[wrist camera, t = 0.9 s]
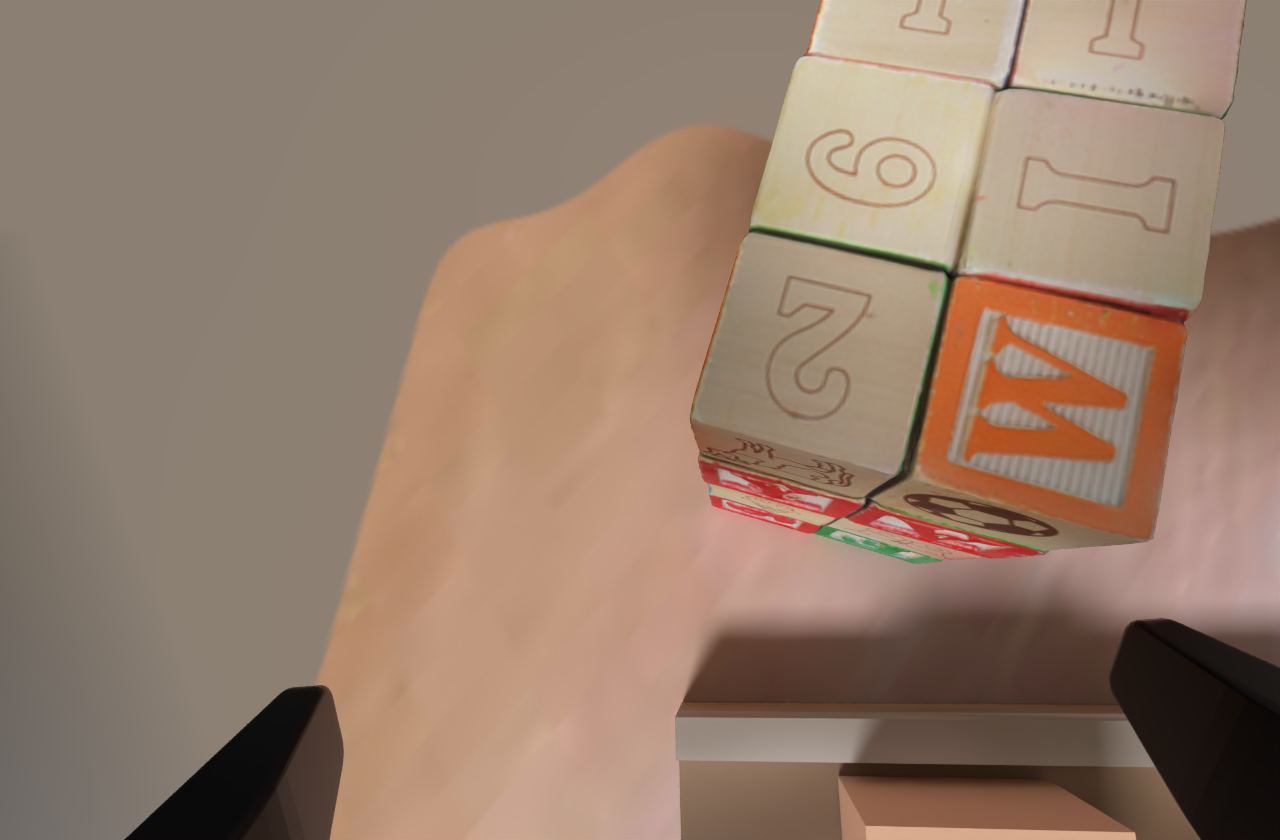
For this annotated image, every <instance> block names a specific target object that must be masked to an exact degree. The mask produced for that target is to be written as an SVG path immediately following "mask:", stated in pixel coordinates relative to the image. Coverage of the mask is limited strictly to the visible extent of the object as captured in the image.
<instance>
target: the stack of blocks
mask: <svg viewBox="0 0 1280 840" xmlns="http://www.w3.org/2000/svg"><path fill="white" fill-rule="evenodd" d="M1245 7H1246V0H821V2H820V6H819V9H818V13H817V17H816V20H815V24H814V28H813V31H812V35H811V39H810V44H809V48H808V50H807V53H806V54H805V55H804V56H802V57H801V58H800V59H798V61H797V62H796V64H795V66H794V68H793V72H792V76H791V79H790V82H789V86H788V89H787V93H786V96H785V99H784V103H783V107H782V110H781V114H780V117H779V121H778V125H777V128H776V132H775V136H774V140H773V143H772V147H771V150H770V153H769V157H768V160H767V163H766V166H765V170H764V173H763V176H762V180H761V183H760V186H759V190H758V193H757V196H756V200H755V203H754V206H753V210H752V213H751V221H750V229H749V233H748V234H747V235H745V237H744V238H743V240H742V241H741V243H740V245H739V249H738V252H737V256H736V259H735V263H734V266H733V269H732V273H731V276H730V279H729V283H728V286H727V289H726V292H725V296H724V299H723V302H722V306H721V309H720V312H719V315H718V319H717V322H716V325H715V329H714V332H713V335H712V338H711V342H710V345H709V348H708V351H707V355H706V358H705V361H704V365H703V368H702V372H701V375H700V378H699V382H698V385H697V389H696V392H695V395H694V399H693V404H692V409H691V414H690V423H691V428H692V430H693V433H694V435H695V440H696V442H697V445H698V448H699V450H700V452H699V457H698V462H699V468H700V471H701V474H702V478H703V479H704V481H705V482H707V484H708V486H709V496H710V499H711V503H712V505H713V506H715V507H718V508H721V509H725V510H728V511H732V512H735V513H739V514H742V515H745V516H749V517H752V518H756V519H759V520H762V521H766V522H769V523H773V524H777V525H780V526H784V527H787V528H790V529H795V530H798V531H801V532H804V533H813V534H817V535H821V536H824V537H828V538H831V539H834V540H838V541H841V542H845V543H848V544H851V545H855V546H858V547H861V548H865V549H868V550H871V551H875V552H878V553H882V554H885V555H888V556H892V557H896V558H899V559H902V560H905V561H908V562H911V563H918V564H921V563H930V562H941V561H946V560H953V559H972V558H981V557H986V558H1009V557H1011V556H1014V557H1024V556H1027V555H1028V556H1036V555H1045V554H1046V553H1048V552H1049V551H1050V550H1057V549H1070V548H1082V547H1095V546H1110V545H1121V544H1133V543H1141V542H1148V541H1149V540H1151V539H1153V538H1154V533H1155V528H1156V522H1157V517H1158V512H1159V506H1160V500H1161V493H1162V487H1163V480H1164V474H1165V467H1166V461H1167V454H1168V448H1169V441H1170V435H1171V428H1172V423H1173V417H1174V412H1175V407H1176V402H1177V397H1178V387H1179V380H1180V375H1181V369H1182V363H1183V357H1184V351H1185V345H1186V338H1187V331H1186V328H1185V325H1184V321H1185V320H1187V319H1188V318H1189V317H1190V316H1191V315H1192V314H1193V313H1194V312H1195V311H1196V309H1197V308H1198V306H1199V304H1200V302H1201V300H1202V296H1203V287H1204V277H1205V271H1206V266H1207V260H1208V254H1209V249H1210V234H1211V228H1212V221H1213V215H1214V208H1215V201H1216V195H1217V189H1218V182H1219V174H1220V165H1221V156H1222V148H1223V140H1224V132H1225V128H1224V121H1222V119H1223V118H1224V117H1225V116H1226V114H1227V112H1228V110H1229V108H1230V106H1231V105H1232V103H1233V100H1234V87H1235V82H1236V78H1237V73H1238V61H1239V51H1240V44H1241V37H1242V31H1243V27H1244V16H1245Z"/></svg>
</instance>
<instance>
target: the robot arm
mask: <svg viewBox="0 0 1280 840" xmlns="http://www.w3.org/2000/svg"><path fill="white" fill-rule="evenodd" d="M1109 682H1110V687H1111V690H1112V693H1113V695H1114V697H1115V699H1116V701H1117V702H1118V704H1119V706H1120V708H1121V709H1122V711H1123V713H1124V714H1125V716H1126V718H1127V720H1128V721H1129V723H1130V725H1131V726H1132V728H1133V730H1134V731H1135V733H1136V735H1137V737H1138V738H1139V740H1140V742H1141V743H1142V745H1143V747H1144V749H1145V750H1146V752H1147V754H1148V755H1149V757H1150V759H1151V760H1152V762H1153V764H1154V766H1155V767H1156V769H1157V771H1158V772H1159V774H1160V776H1161V778H1162V779H1163V781H1164V783H1165V784H1166V786H1167V788H1168V789H1169V791H1170V793H1171V795H1172V796H1173V798H1174V800H1175V801H1176V803H1177V805H1178V806H1179V808H1180V810H1181V811H1182V813H1183V814H1184V816H1185V818H1186V819H1187V821H1188V823H1189V824H1190V826H1191V827H1192V828H1193V830H1194V831H1195V833H1196V834H1197V836H1198V837H1199V839H1200V840H1280V667H1277V666H1275V665H1273V664H1271V663H1268V662H1266V661H1264V660H1262V659H1259V658H1257V657H1255V656H1253V655H1250V654H1248V653H1246V652H1244V651H1241V650H1239V649H1237V648H1235V647H1232V646H1230V645H1228V644H1226V643H1223V642H1221V641H1219V640H1217V639H1214V638H1212V637H1210V636H1208V635H1205V634H1203V633H1201V632H1199V631H1196V630H1194V629H1192V628H1190V627H1187V626H1185V625H1183V624H1181V623H1178V622H1176V621H1174V620H1171V619H1165V618H1158V619H1145V620H1136V621H1133V622H1131V623H1130V624H1129V625H1128V626H1127V627H1126V629H1125V630H1124V633H1123V636H1122V639H1121V642H1120V644H1119V647H1118V650H1117V653H1116V656H1115V659H1114V661H1113V664H1112V667H1111V670H1110V674H1109ZM343 757H344V748H343V739H342V735H341V731H340V726H339V722H338V717H337V713H336V709H335V704H334V700H333V696H332V693H331V691H330V690H329V688H328V687H326V686H323V685H317V686H306V687H292V688H289V689H286V690H285V691H283V692H282V693H280V694H279V695H278V696H277V697H276V698H275V699H274V700H273V701H272V702H271V703H270V704H268V706H266V707H265V708H264V709H263V710H262V711H261V712H260V713H259V714H258V715H257V716H256V717H255V718H254V719H253V720H252V721H250V722H249V723H248V724H247V725H246V726H245V727H244V728H243V729H242V730H241V731H240V732H239V733H238V734H236V736H234V737H233V738H232V739H231V740H230V741H229V742H228V743H227V744H226V745H225V746H224V747H223V748H222V749H221V750H219V751H218V752H217V753H216V754H215V755H214V756H213V757H212V758H211V759H210V760H209V761H208V762H207V763H205V764H204V765H203V766H202V767H201V768H200V769H199V770H198V771H197V772H196V773H195V774H194V775H193V776H192V777H191V778H189V780H187V781H186V782H185V783H184V784H183V785H182V786H181V787H180V788H179V789H178V790H177V791H176V792H175V793H173V794H172V795H171V796H170V797H169V798H168V799H167V800H166V801H165V802H164V803H163V804H162V805H161V806H160V807H159V808H157V809H156V810H155V811H154V812H153V813H152V814H151V815H150V816H149V817H148V818H147V819H146V820H145V821H144V822H143V823H142V824H140V825H139V826H138V827H137V828H136V829H135V830H134V831H133V832H132V833H131V834H130V835H129V836H128V837H127V838H125V839H124V840H330V834H331V828H332V823H333V817H334V811H335V806H336V800H337V795H338V789H339V783H340V778H341V772H342V766H343Z"/></svg>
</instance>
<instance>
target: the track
mask: <svg viewBox="0 0 1280 840" xmlns="http://www.w3.org/2000/svg"><path fill="white" fill-rule="evenodd" d="M675 730H676V760H679V767H680V810H681V840H842V828H841V814H840V799H839V784H838V776H876V777H936V778H996V779H1048V780H1050V781H1052V782H1053V783H1055V784H1056V785H1058V786H1060V787H1061V788H1063V789H1065V790H1066V791H1068V792H1070V793H1071V794H1073V795H1074V796H1076V797H1078V798H1079V799H1081V800H1083V801H1084V802H1086V803H1088V804H1089V805H1091V806H1093V807H1094V808H1096V809H1097V810H1099V811H1101V812H1102V813H1104V814H1106V815H1107V816H1109V817H1111V818H1112V819H1114V820H1115V821H1117V822H1119V823H1120V824H1122V825H1124V826H1125V827H1127V828H1129V829H1130V830H1132V831H1134V832H1135V835H1136V840H1200V839H1199V837H1198V836H1197V834H1196V833H1195V831H1194V830H1193V828H1192V827H1191V826H1190V824H1189V823H1188V821H1187V819H1186V818H1185V816H1184V814H1183V813H1182V811H1181V810H1180V808H1179V806H1178V805H1177V803H1176V801H1175V800H1174V798H1173V796H1172V795H1171V793H1170V791H1169V789H1168V788H1167V786H1166V784H1165V783H1164V781H1163V779H1162V778H1161V776H1160V774H1159V772H1158V771H1157V769H1156V767H1155V766H1154V764H1153V762H1152V760H1151V759H1150V757H1149V755H1148V754H1147V752H1146V750H1145V749H1144V747H1143V745H1142V743H1141V742H1140V740H1139V738H1138V737H1137V735H1136V733H1135V731H1134V730H1133V728H1132V726H1131V725H1130V723H1129V721H1128V720H1127V718H1126V716H1125V714H1124V713H1123V711H1122V709H1121V708H1120V706H1119V704H927V703H730V702H682V704H681V706H680V708H679V710H678V712H677V715H676V717H675Z"/></svg>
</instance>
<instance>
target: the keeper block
mask: <svg viewBox="0 0 1280 840" xmlns="http://www.w3.org/2000/svg"><path fill="white" fill-rule="evenodd" d="M838 784H839V799H840V814H841V828H842V840H1136V835H1135V832H1134V831H1132V830H1130V829H1129V828H1127V827H1125V826H1124V825H1122V824H1120V823H1119V822H1117V821H1115V820H1114V819H1112V818H1111V817H1109V816H1107V815H1106V814H1104V813H1102V812H1101V811H1099V810H1097V809H1096V808H1094V807H1093V806H1091V805H1089V804H1088V803H1086V802H1084V801H1083V800H1081V799H1079V798H1078V797H1076V796H1074V795H1073V794H1071V793H1070V792H1068V791H1066V790H1065V789H1063V788H1061V787H1060V786H1058V785H1056V784H1055V783H1053V782H1052V781H1050V780H1048V779H996V778H936V777H876V776H838Z"/></svg>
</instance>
